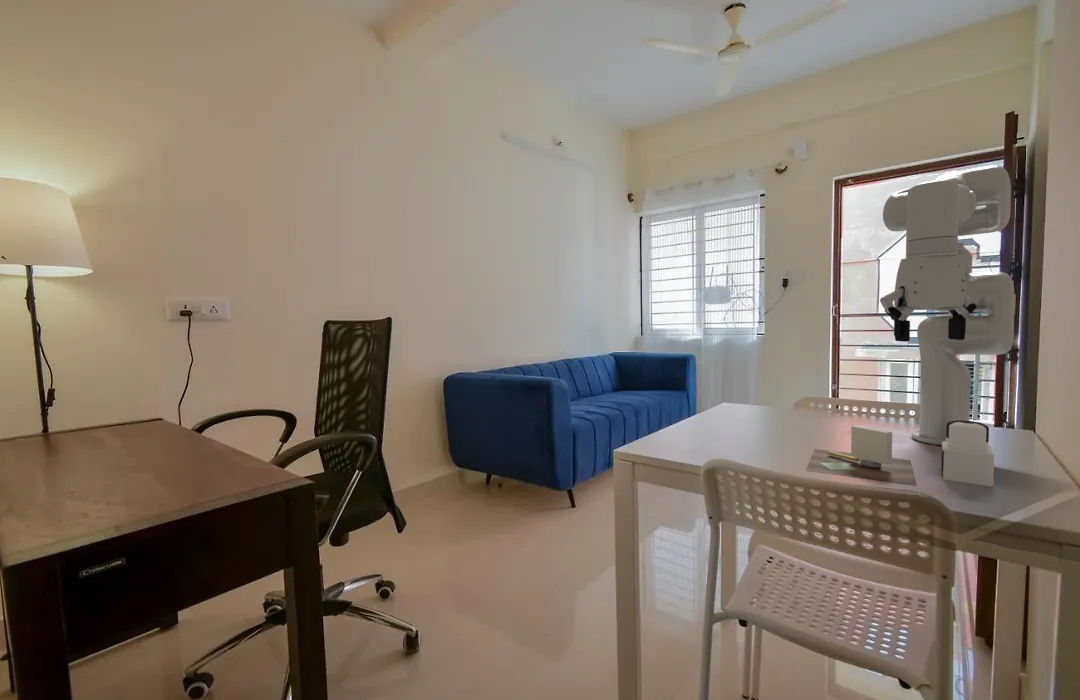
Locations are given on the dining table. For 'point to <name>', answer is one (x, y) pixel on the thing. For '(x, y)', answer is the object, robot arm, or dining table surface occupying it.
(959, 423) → the medicine bottle
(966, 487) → the dining table surface
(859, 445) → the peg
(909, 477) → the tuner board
